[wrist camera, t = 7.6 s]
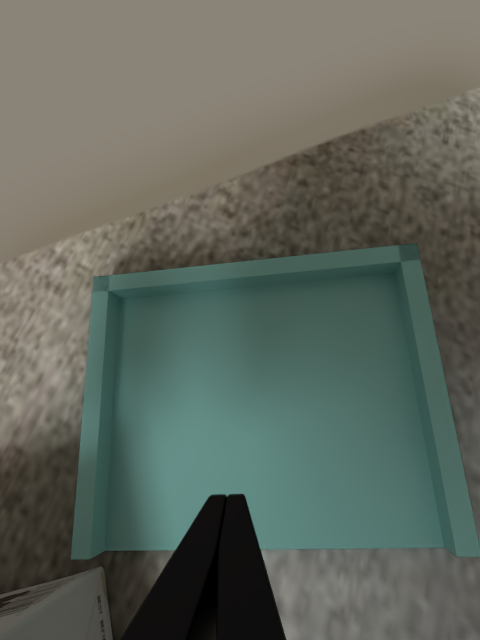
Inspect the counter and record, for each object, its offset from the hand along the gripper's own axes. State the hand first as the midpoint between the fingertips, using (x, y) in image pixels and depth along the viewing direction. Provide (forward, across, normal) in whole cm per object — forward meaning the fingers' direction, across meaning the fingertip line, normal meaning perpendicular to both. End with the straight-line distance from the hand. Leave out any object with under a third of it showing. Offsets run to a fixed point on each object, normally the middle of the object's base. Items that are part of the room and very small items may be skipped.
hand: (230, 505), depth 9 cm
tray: (+8, 0, +3) cm, 8 cm away
